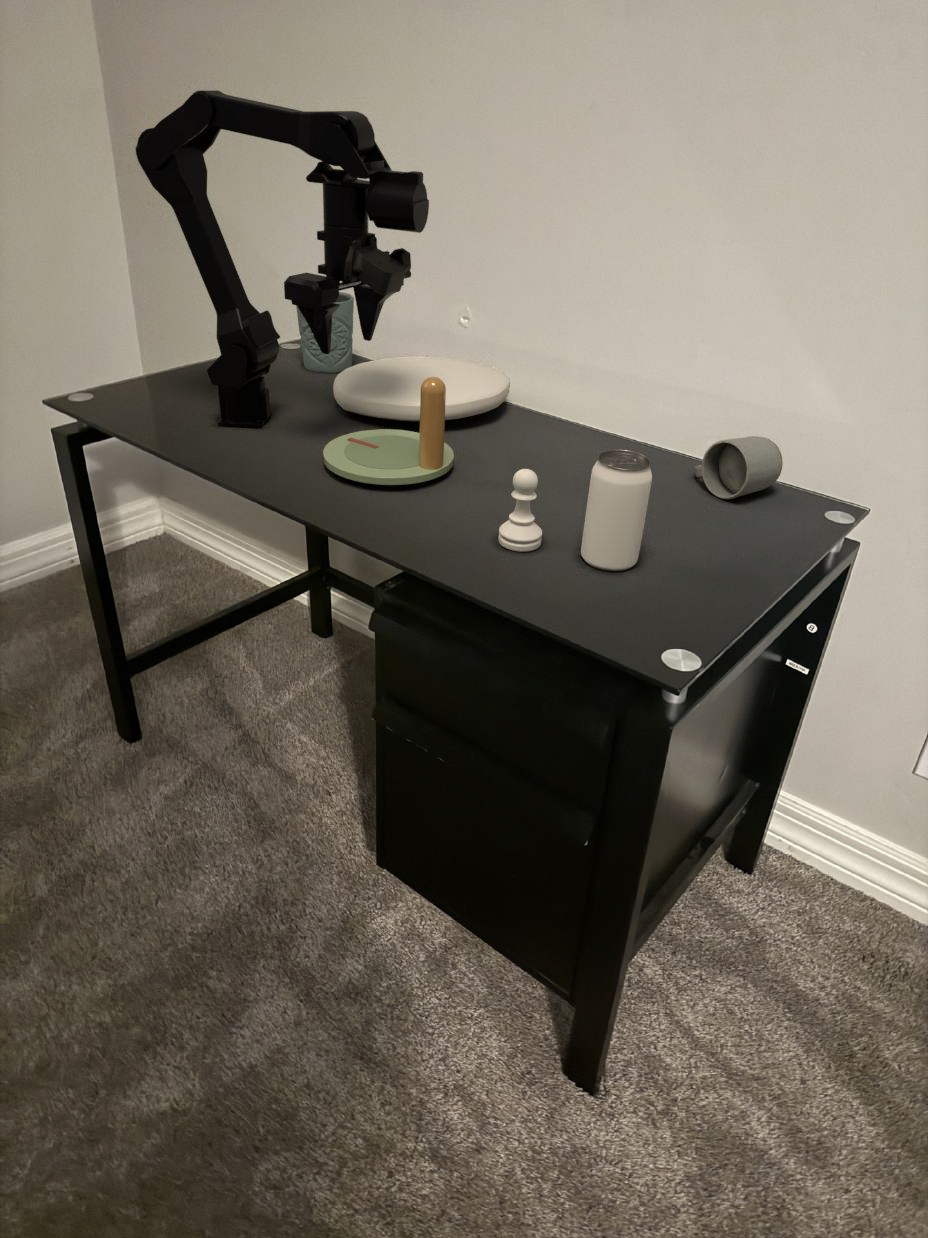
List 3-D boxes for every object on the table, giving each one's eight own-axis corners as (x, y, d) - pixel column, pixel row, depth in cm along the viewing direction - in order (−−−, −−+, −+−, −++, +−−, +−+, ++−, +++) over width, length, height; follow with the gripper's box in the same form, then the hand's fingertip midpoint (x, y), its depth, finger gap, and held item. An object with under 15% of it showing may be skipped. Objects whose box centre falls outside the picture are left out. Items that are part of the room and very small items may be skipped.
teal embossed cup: (331, 377, 151) (329, 305, 144) (286, 366, 155) (282, 296, 149) (366, 364, 158) (365, 295, 152) (322, 354, 162) (319, 287, 156)
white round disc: (312, 394, 128) (351, 347, 150) (319, 436, 131) (355, 385, 154) (503, 389, 125) (513, 342, 147) (504, 433, 128) (514, 380, 151)
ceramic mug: (780, 495, 116) (793, 440, 112) (740, 508, 112) (753, 451, 108) (718, 469, 124) (728, 416, 120) (678, 480, 119) (688, 426, 115)
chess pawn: (539, 533, 103) (547, 462, 99) (542, 553, 99) (550, 479, 94) (497, 531, 103) (503, 460, 98) (498, 551, 99) (504, 477, 94)
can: (575, 545, 101) (588, 447, 95) (629, 545, 102) (646, 448, 95) (586, 572, 96) (600, 470, 89) (643, 573, 96) (662, 471, 90)
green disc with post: (295, 461, 116) (290, 366, 109) (378, 426, 128) (378, 340, 122) (401, 497, 108) (402, 397, 101) (478, 456, 121) (484, 365, 114)
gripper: (350, 240, 102) (351, 373, 110) (438, 225, 115) (433, 344, 124) (278, 227, 106) (284, 356, 115) (370, 214, 120) (370, 329, 128)
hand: (347, 346), depth 120 cm, fingers open, 9 cm apart
